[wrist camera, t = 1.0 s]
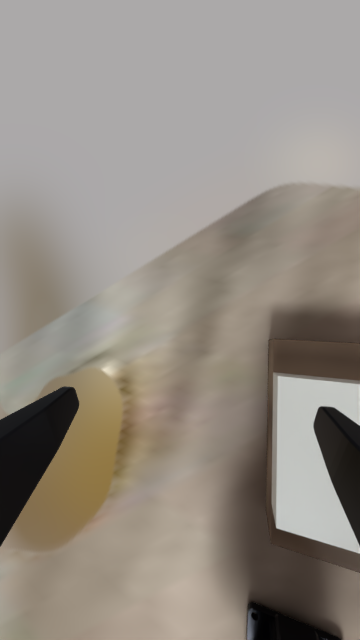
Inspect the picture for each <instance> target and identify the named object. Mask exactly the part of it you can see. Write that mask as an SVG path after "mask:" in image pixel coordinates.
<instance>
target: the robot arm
mask: <svg viewBox="0 0 360 640" xmlns="http://www.w3.org/2000/svg"><path fill="white" fill-rule="evenodd" d="M78 408H79V400H78V397H77V394H76V390H75V389H74V388H73V387H62V388H60V389H58V390H56V391H54V392H52V393H50V394H48V395H47V396H44V397H43V398H41V399H39V400H37V401H35V402H33V403H31V404H29V405H27V406H26V407H24V408H22V409H20V410H18V411H16V412H14V413H12V414H10V415H9V416H7V417H5V418H3V419H1V420H0V546H1V545H2V543H3V541H4V540H5V538H6V536H7V535H8V533H9V531H10V530H11V528H12V526H13V524H14V523H15V521H16V519H17V518H18V516H19V514H20V513H21V511H22V509H23V508H24V506H25V504H26V503H27V501H28V499H29V498H30V496H31V494H32V493H33V491H34V489H35V488H36V486H37V484H38V482H39V481H40V479H41V478H42V476H43V474H44V473H45V471H46V469H47V467H48V466H49V464H50V463H51V461H52V459H53V458H54V456H55V454H56V452H57V450H58V449H59V447H60V445H61V443H62V441H63V439H64V437H65V435H66V433H67V430H68V429H69V427H70V425H71V423H72V421H73V419H74V417H75V414H76V412H77V410H78ZM313 428H314V432H315V435H316V438H317V441H318V444H319V447H320V450H321V453H322V456H323V459H324V462H325V465H326V468H327V471H328V474H329V476H330V479H331V482H332V484H333V487H334V489H335V491H336V494H337V496H338V498H339V501H340V503H341V505H342V507H343V510H344V512H345V514H346V516H347V519H348V521H349V523H350V525H351V528H352V530H353V532H354V535H355V537H356V539H357V541H358V544H359V546H360V425H358V424H357V423H355V422H354V421H353V420H351V419H350V418H348V417H347V416H346V415H344V414H343V413H341V412H340V411H339V410H337V409H336V408H334V407H327V406H320V407H319V408H318V410H317V413H316V417H315V420H314V424H313ZM253 612H255V613H256V614H254V613H253ZM247 640H341V639H339V638H338V637H336V636H333V635H331V634H329V633H326V632H324V631H321V630H319V629H317V628H314V627H312V626H309V625H307V624H305V623H302V622H300V621H297V620H295V619H293V618H290V617H288V616H285V615H283V614H281V613H278V612H276V611H273V610H271V609H269V608H266V607H264V606H261V605H259V604H257V603H254V602H251V603H249V604H248V617H247Z"/></svg>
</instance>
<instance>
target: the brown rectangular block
mask: <svg viewBox="0 0 360 640" xmlns="http://www.w3.org/2000/svg"><path fill="white" fill-rule="evenodd" d="M273 372H275V373H285V374H296V375H306V376H316V377H327V378H337V379H347V380H358V381H360V343H343V342H324V341H305V340H285V339H271V340H269V349H268V413H267V477H266V513H267V520H268V527H269V534H270V540H271V544H274V545H277V546H280V547H283V548H286V549H289V550H292V551H295V552H298V553H301V554H304V555H307V556H310V557H313V558H316V559H319V560H323V561H326V562H329V563H332V564H335V565H338V566H341V567H344V568H347V569H350V570H353V571H356V572H359V573H360V554H359V553H356V552H353V551H350V550H346V549H343V548H340V547H336V546H333V545H330V544H327V543H323V542H320V541H317V540H313V539H310V538H307V537H304V536H300V535H297V534H294V533H290V532H287V531H284V530H281V529H277V528H276V525H275V519H274V514H273V509H272V427H273Z"/></svg>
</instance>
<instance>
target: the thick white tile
mask: <svg viewBox="0 0 360 640" xmlns="http://www.w3.org/2000/svg"><path fill="white" fill-rule="evenodd" d="M320 406H327V407H334V408H336V409H337V410H339V411H340V412H341V413H343V414H344V415H346V416H347V417H348V418H350V419H351V420H353V421H354V422H355V423H357V424H358V425H360V381H358V380H347V379H337V378H327V377H316V376H306V375H296V374H285V373H275V372H273V427H272V509H273V514H274V519H275V525H276V528H277V529H281V530H284V531H287V532H290V533H294V534H297V535H300V536H304V537H307V538H310V539H313V540H317V541H320V542H323V543H327V544H330V545H333V546H336V547H340V548H343V549H346V550H350V551H353V552H356V553H359V554H360V546H359V544H358V541H357V539H356V537H355V535H354V532H353V530H352V528H351V525H350V523H349V521H348V519H347V516H346V514H345V512H344V510H343V507H342V505H341V503H340V501H339V498H338V496H337V494H336V491H335V489H334V487H333V484H332V482H331V479H330V476H329V474H328V471H327V468H326V465H325V462H324V459H323V456H322V453H321V450H320V447H319V444H318V441H317V438H316V435H315V432H314V428H313V424H314V420H315V417H316V413H317V410H318V408H319V407H320Z"/></svg>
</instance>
